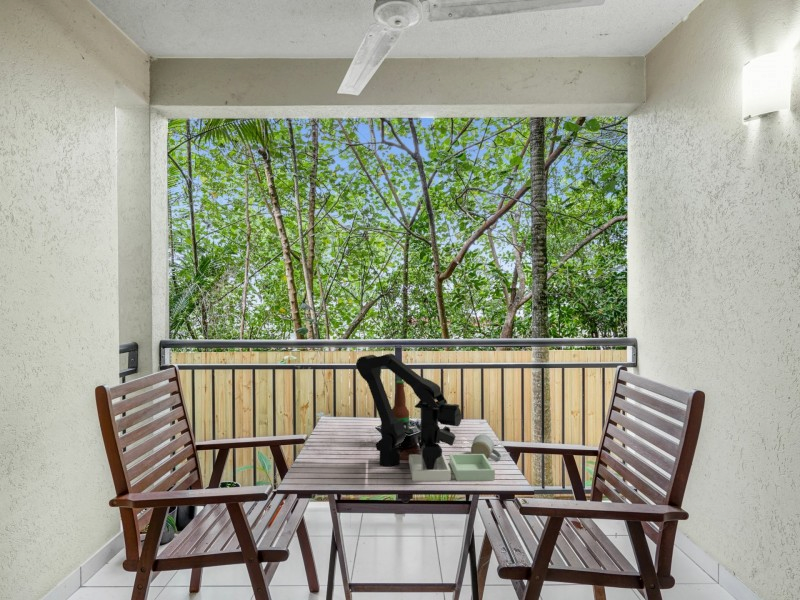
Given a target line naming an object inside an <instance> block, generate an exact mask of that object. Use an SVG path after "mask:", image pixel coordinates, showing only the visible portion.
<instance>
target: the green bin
mask: <svg viewBox="0 0 800 600" xmlns="http://www.w3.org/2000/svg"><path fill="white" fill-rule="evenodd" d="M448 456H449V463H448V465H449V467H450V469H451V470H452V471H451V472H452V474H453V475H454V478H455V479H456V481H457V482H460V481H461V482H463V481H464V482H465V481H466V482H467V481H470V482H471V481H474V482H477V481H478V482H479V481H480V482H481V481H495V479H496V476H495V475H496V471H495V468H494V467H493V466H492V464H491V463H490V461H489V458H486V457H485V455H484V454H472V453H449V455H448Z"/></svg>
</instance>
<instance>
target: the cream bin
mask: <svg viewBox="0 0 800 600" xmlns="http://www.w3.org/2000/svg"><path fill="white" fill-rule="evenodd" d="M408 465H409V469H410V475H411V479H412V482H451V481H452V476H451V475H452V473H451V472H452V471H451V470H452V469H451V467H450V464H449V463H448V461H447V458H446V457H445V454H443V453H442V456H441V457H439V458H437V470H421V465H422V453H421V454H412V453H411V454H409V455H408Z"/></svg>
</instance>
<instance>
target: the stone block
mask: <svg viewBox="0 0 800 600" xmlns="http://www.w3.org/2000/svg"><path fill="white" fill-rule="evenodd" d="M421 470H427V468H426V465H425V462H424V460H423V457H422V465H421ZM433 470H437V459H436V461H435V465H434V469H433Z"/></svg>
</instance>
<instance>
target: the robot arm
mask: <svg viewBox="0 0 800 600" xmlns="http://www.w3.org/2000/svg"><path fill="white" fill-rule="evenodd" d="M355 366H356V369H357V371H358V373H359V375H360V376H361V378H362V379H363V380H364V381H366V383H367V385H368V389H369V392H370V393H371V396H372V399H373V402H374V406H375V408H376V411H377V413H378V416H379V419H380V423H381V424H380V435H381V438H380V439H379V440H378V441H377V442H376V443H375V448H376V451H379V466H380V467H386V468H389V467H395V466H400V465H401V464H400V461H401V453H400V452H401V451H400V450H399V448H400V447H399V446H401V443H402V442H403V441H404V439H405V437H406V433H405V431H406V429H405V427H404V424H403V421H402V420H400V421H398V420H397V419H396V418H395V416H394V414H393V411H392V406H391V404H390V401H389V398H388V395H387V392H386V390H385V387H384V383H383V382H382V378H381V375H382V374H381V373H382V367H385V368H386V369H388V370H390V371H391V372H392V373H393V374H395V375H396V376H397V377H398V378H400V380H401V381H404V383H406V384H407V385H408V386H409V388H411V389H412V390H413V393H414V395H415V396H416V397H418V399H419V401H418V402H417V404H415V405H414V408H416V409H420V423H419V427H420V431H419V432H418V433H417V437H416V439H417V443H418V446H419V449H420V452H421V454H422V457H423V460H424V462H425V465H426V468H427V470H433V469H434V465H435V461H436V459H437V458H439V457H441V456H442V454H443V449H442V446H441V445H440V443H441V442H442V443H444V444H448V446H454V445H453V444H454V442H455V439H456V434H455V433H453V432H451V428H450V427H449V426H451V427H459V426H460V425H461V423H462V415H463V414H462V412H461V409H460V405H459V404H456V403H455V404H450V403H448V401H447V399H446V398H445V396H444V394H443V393H442V391H441V387H440V385H439V384H438V383H435V381H432V380H431V379H427V378H425V377H422V376H421V375H419V374H418V373H417V372H415V371H414V370H413V369H412V368H410V367H409V366H408V365H406V363H404V362H403V361H401V360H400V359H399V358H398V357H396V355H395V354H393V353H388V354H383V355H380V356H377V355H374V354H369V355H363V356H360V357H358V359H357V360H356V363H355ZM439 424H441V425H445V426H444V427H443V428H440V427H439Z"/></svg>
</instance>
